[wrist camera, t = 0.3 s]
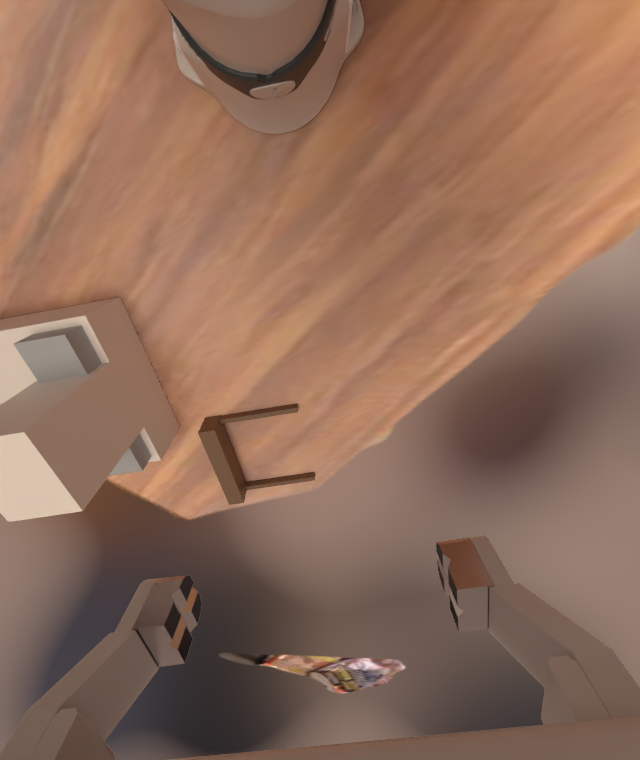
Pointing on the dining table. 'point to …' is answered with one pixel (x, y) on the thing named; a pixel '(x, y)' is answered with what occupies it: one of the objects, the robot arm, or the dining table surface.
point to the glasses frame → (225, 456)
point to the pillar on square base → (75, 407)
